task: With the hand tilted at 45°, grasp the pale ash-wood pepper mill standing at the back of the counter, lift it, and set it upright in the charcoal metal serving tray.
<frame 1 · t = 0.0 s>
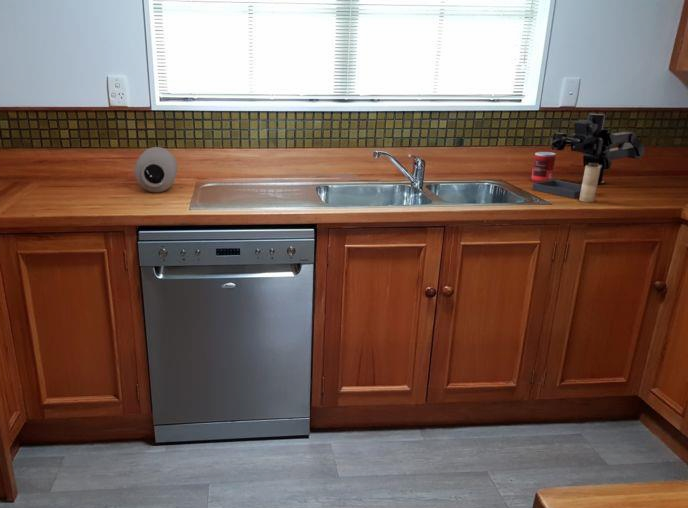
hand: (563, 145, 222), 17 cm above the table, tool horizontal, fingers open, 9 cm apart
grey egg shaped device: (161, 192, 224), on the table
tray: (563, 191, 226), on the table
pepper mill: (586, 200, 213), on the table
canned food: (540, 181, 245), on the table
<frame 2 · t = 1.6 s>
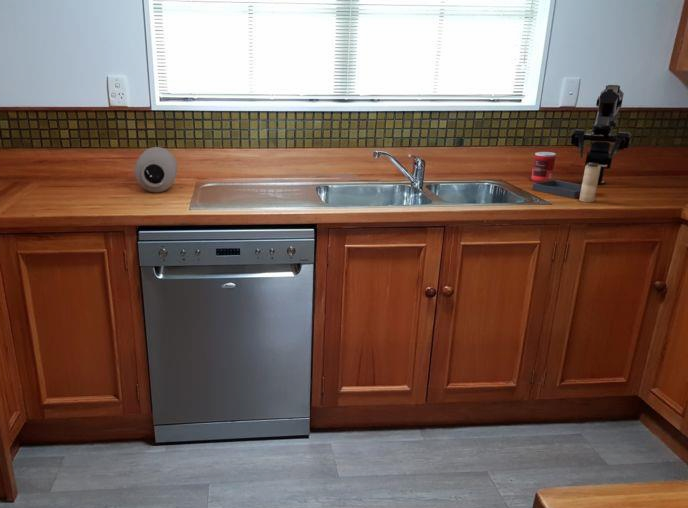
hand: (595, 157, 215), 14 cm above the table, tool tilted 45°, fingers open, 9 cm apart
nothing on the table moved.
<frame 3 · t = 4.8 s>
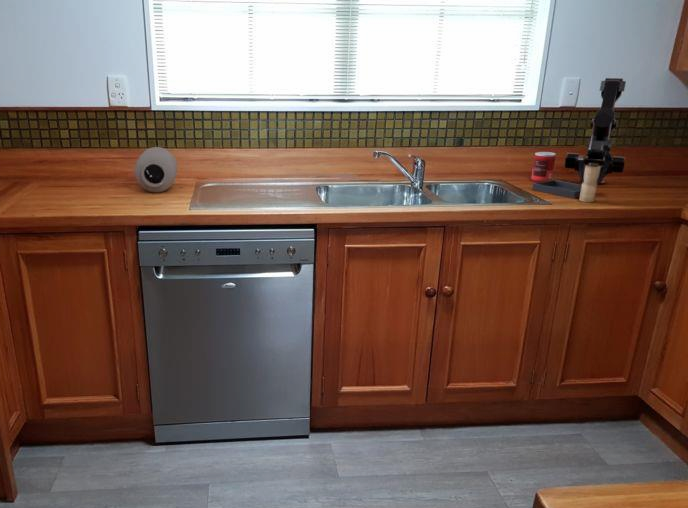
hand: (589, 182, 210), 7 cm above the table, tool tilted 45°, fingers closed on pepper mill, 5 cm apart
pepper mill: (586, 200, 213), on the table, touching gripper
everything else where it was.
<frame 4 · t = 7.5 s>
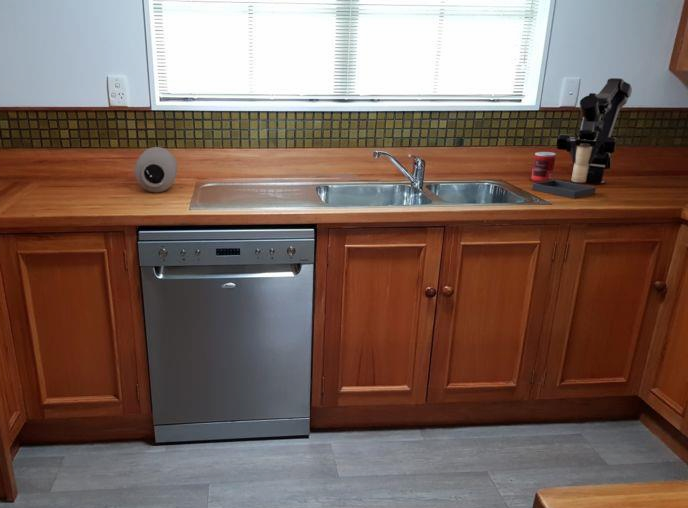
hand: (581, 163, 213), 12 cm above the table, tool tilted 45°, fingers closed on pepper mill, 5 cm apart
pepper mill: (578, 181, 217), point 6 cm above the table, touching gripper
everything else where it was.
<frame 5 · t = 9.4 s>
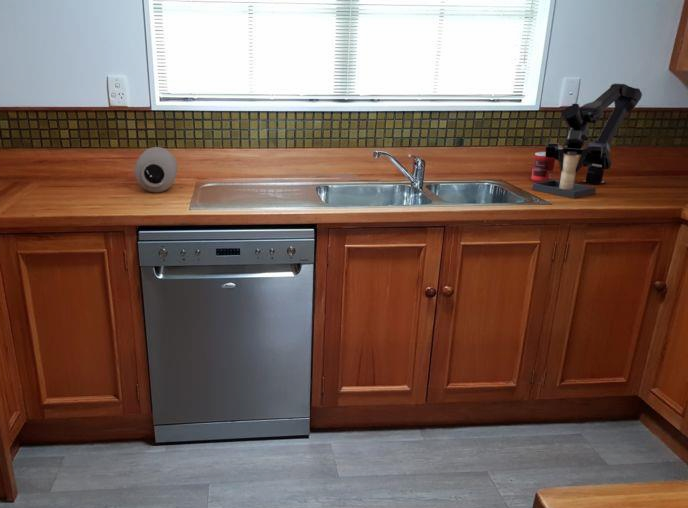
hand: (568, 170, 220), 9 cm above the table, tool tilted 45°, fingers closed on pepper mill, 5 cm apart
pepper mill: (566, 188, 223), point 2 cm above the table, touching gripper
everything else where it was.
when the fingers open (7 cm above the table, at t = 10.4 s): pepper mill stays where it is, resting on tray.
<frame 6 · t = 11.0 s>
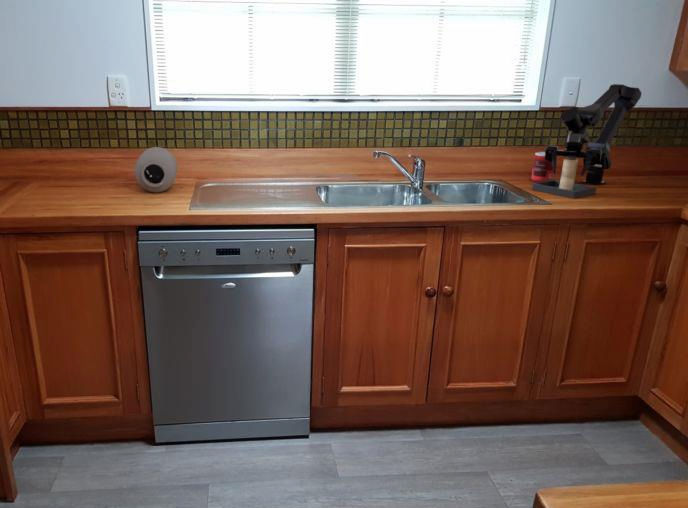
hand: (568, 173, 220), 8 cm above the table, tool tilted 45°, fingers open, 9 cm apart
pepper mill: (565, 192, 224), resting on tray
everything else where it was.
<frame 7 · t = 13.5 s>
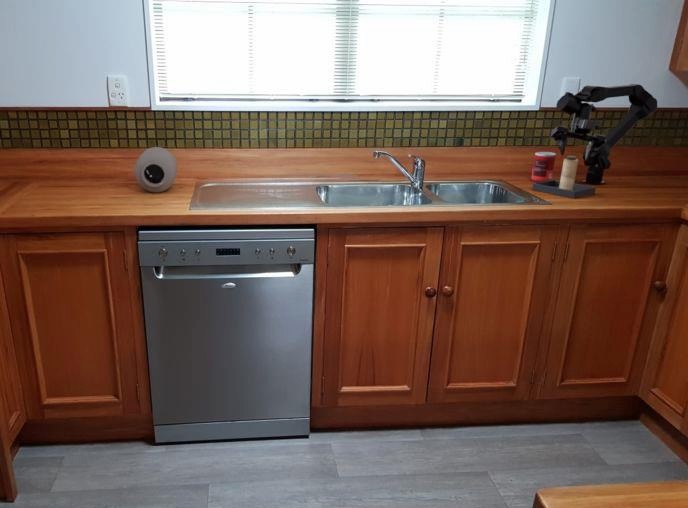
hand: (574, 157, 227), 12 cm above the table, tool tilted 30°, fingers open, 9 cm apart
nothing on the table moved.
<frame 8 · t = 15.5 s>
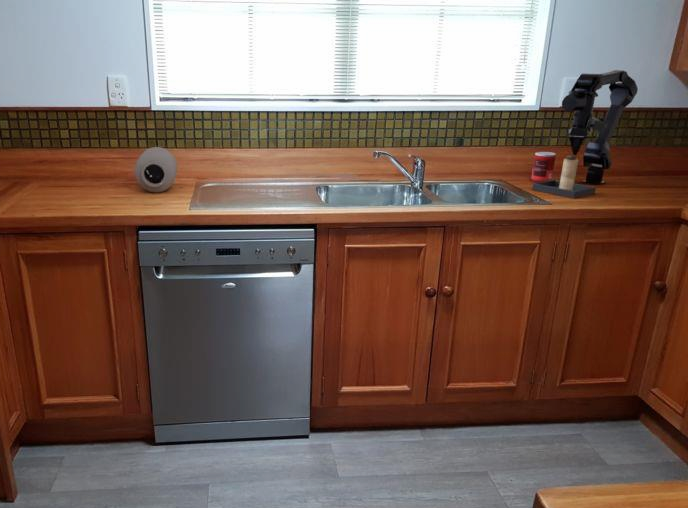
hand: (576, 153, 228), 13 cm above the table, tool pointing down, fingers open, 9 cm apart
nothing on the table moved.
at the end: pepper mill inside the target area in the tray (2.8 cm from its centre), point 0.4 cm above the tray's base; pepper mill tilted 0°; the gripper is holding nothing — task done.
